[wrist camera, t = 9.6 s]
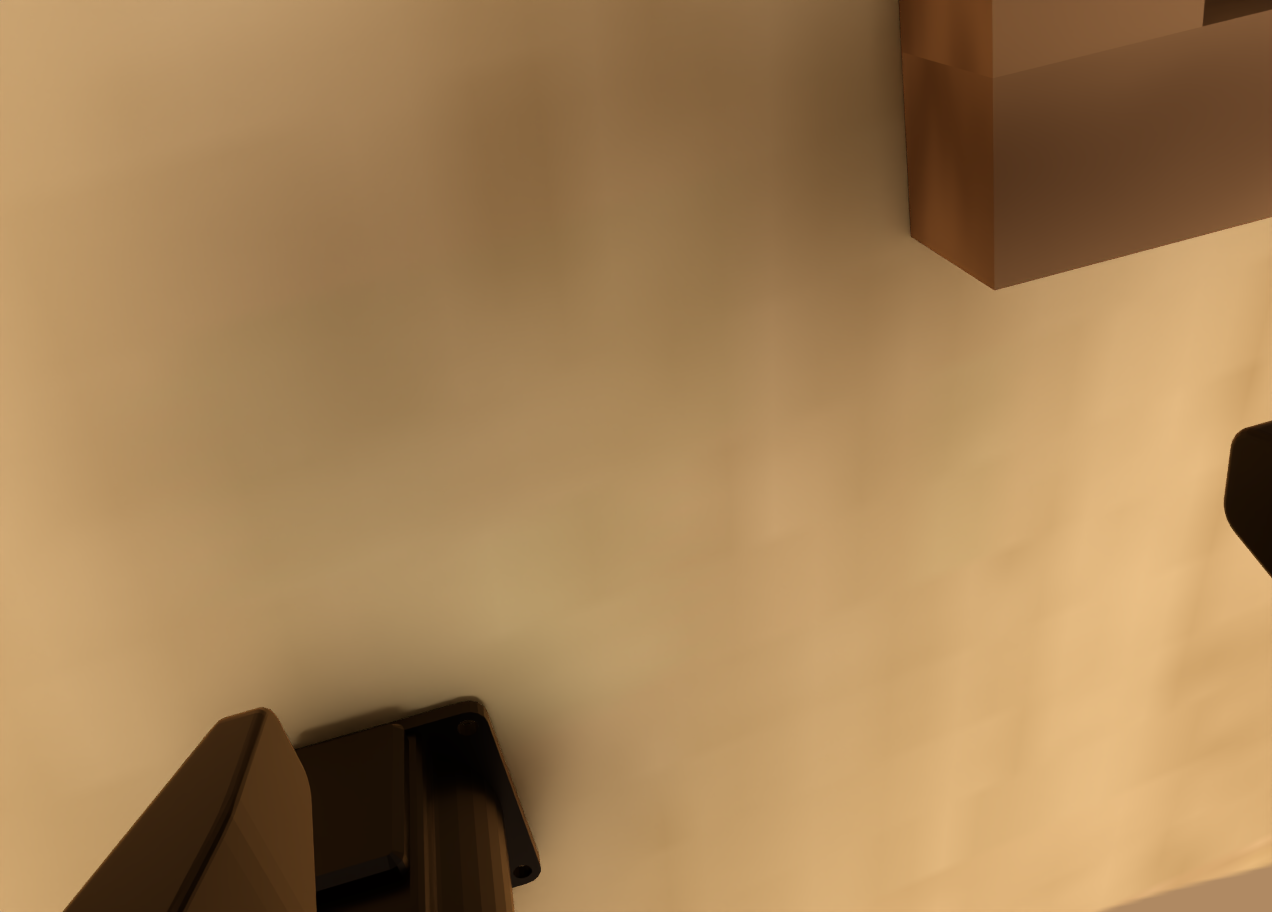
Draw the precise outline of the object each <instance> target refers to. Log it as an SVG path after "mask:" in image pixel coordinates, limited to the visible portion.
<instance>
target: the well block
mask: <svg viewBox="0 0 1272 912" xmlns="http://www.w3.org/2000/svg"><path fill="white" fill-rule="evenodd" d="M899 10H900V30H901V49H902V69H903V88H904V108H905V127H906V147H907V166H908V186H909V205H910V225H911V237H912V238H914V239H916V240H917V241H919V242H920V243H922V244H923V245H925V246H926V247H928V248H930V249H931V250H933V251H934V252H936V253H937V254H939V255H940V256H942V257H944V258H945V259H947V260H948V261H950V262H951V263H953V264H954V265H956V266H958V267H959V268H961V269H962V270H964V271H965V272H967V273H968V274H970V275H972V276H973V277H975V278H976V279H978V280H979V281H981V282H982V283H984V284H985V285H987V286H989V287H990V288H992V289H993V290H998V289H1001V288H1005V287H1009V286H1013V285H1016V284H1020V283H1024V282H1028V281H1032V280H1035V279H1039V278H1043V277H1047V276H1050V275H1054V274H1058V273H1062V272H1065V271H1069V270H1073V269H1077V268H1081V267H1084V266H1088V265H1092V264H1096V263H1099V262H1103V261H1107V260H1111V259H1115V258H1118V257H1122V256H1126V255H1130V254H1133V253H1137V252H1141V251H1145V250H1149V249H1152V248H1156V247H1160V246H1164V245H1167V244H1171V243H1175V242H1179V241H1182V240H1186V239H1190V238H1194V237H1198V236H1201V235H1205V234H1209V233H1213V232H1216V231H1220V230H1224V229H1228V228H1232V227H1235V226H1239V225H1243V224H1247V223H1250V222H1254V221H1258V220H1262V219H1266V218H1269V217H1272V0H899Z"/></svg>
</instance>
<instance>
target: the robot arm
mask: <svg viewBox="0 0 1272 912" xmlns="http://www.w3.org/2000/svg"><path fill="white" fill-rule="evenodd" d="M1224 510H1225V514H1226V517H1227V520H1228V522H1229V524H1230V526H1231V528H1232V529H1233V531H1234V532H1235V533H1236V535H1237V536H1238V537H1239V538H1240V539H1241V541H1242V542H1243V543H1244V544H1245V546H1246V547H1247V548H1248V549H1249V550H1250V552H1251V553H1252V554H1253V555H1254V557H1255V558H1256V559H1257V560H1258V562H1259V563H1260V564H1261V565H1262V567H1263V568H1264V569H1265V570H1266V571H1267V573H1268V574H1269V575H1270V576H1271V578H1272V421H1268V422H1265V423H1261V424H1258V425H1254V426H1251V427H1247V428H1244V429H1242V430H1241V431H1240V432H1238V433H1237V434H1236V436H1235V437H1234V439H1233V441H1232V444H1231V449H1230V457H1229V464H1228V472H1227V480H1226V487H1225V495H1224ZM465 720H473V721H475V722H473V723H471V724H462V723H461V722H463V721H465ZM521 865H524V866H521ZM540 872H541V866H540V859H539V853H538V851H537V848H536V845H535V842H534V840H533V837H532V834H531V831H530V829H529V826H528V823H527V820H526V818H525V815H524V812H523V809H522V807H521V804H520V801H519V798H518V796H517V793H516V790H515V787H514V785H513V782H512V779H511V776H510V774H509V771H508V768H507V765H506V762H505V760H504V757H503V754H502V751H501V749H500V746H499V743H498V740H497V738H496V735H495V732H494V729H493V727H492V724H491V721H490V718H489V716H488V713H487V710H486V709H485V708H484V706H483V705H481V704H479V703H478V702H473V701H465V702H459V703H456V704H452V705H449V706H446V707H442V708H439V709H435V710H432V711H428V712H425V713H421V714H418V715H414V716H411V717H407V718H404V719H400V720H397V721H393V722H390V723H386V724H383V725H379V726H376V727H372V728H369V729H366V730H362V731H359V732H355V733H352V734H348V735H345V736H341V737H338V738H334V739H331V740H327V741H324V742H320V743H317V744H313V745H310V746H306V747H303V748H299V749H296V750H294V748H293V747H292V745H291V743H290V741H289V739H288V737H287V735H286V733H285V731H284V729H283V727H282V725H281V723H280V721H279V719H278V718H277V716H276V715H275V714H274V713H273V712H272V711H271V709H268V708H264V707H260V708H256V709H253V710H249V711H246V712H242V713H239V714H235V715H231V716H228V717H225V718H223V719H221V720H220V721H218V722H217V723H216V724H215V725H214V726H213V728H212V729H211V730H210V731H209V732H208V734H207V735H206V736H205V737H204V739H203V740H202V741H201V742H200V744H199V745H198V746H197V747H196V748H195V750H194V751H193V752H192V753H191V755H190V756H189V757H188V758H187V759H186V761H185V762H184V763H183V764H182V766H181V767H180V768H179V769H178V771H177V772H176V773H175V774H174V775H173V777H172V778H171V779H170V780H169V782H168V783H167V784H166V785H165V787H164V788H163V789H162V790H161V791H160V793H159V794H158V795H157V796H156V798H155V799H154V800H153V801H152V803H151V804H150V805H149V806H148V807H147V809H146V810H145V811H144V812H143V814H142V815H141V816H140V817H139V818H138V820H137V821H136V822H135V823H134V825H133V826H132V827H131V828H130V830H129V831H128V832H127V833H126V834H125V836H124V837H123V838H122V839H121V841H120V842H119V843H118V844H117V846H116V847H115V848H114V849H113V850H112V852H111V853H110V854H109V855H108V857H107V858H106V859H105V860H104V862H103V863H102V864H101V865H100V866H99V868H98V869H97V870H96V871H95V873H94V874H93V875H92V876H91V877H90V879H89V880H88V881H87V882H86V884H85V885H84V886H83V887H82V889H81V890H80V891H79V892H78V893H77V895H76V896H75V897H74V898H73V900H72V901H71V902H70V903H69V905H68V906H67V907H66V908H65V909H64V911H63V912H515V911H514V903H513V894H512V888H514V887H517V886H520V885H523V884H527V883H529V882H531V881H533V880H535V879H536V878H537V877H538V876H539V874H540Z"/></svg>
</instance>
